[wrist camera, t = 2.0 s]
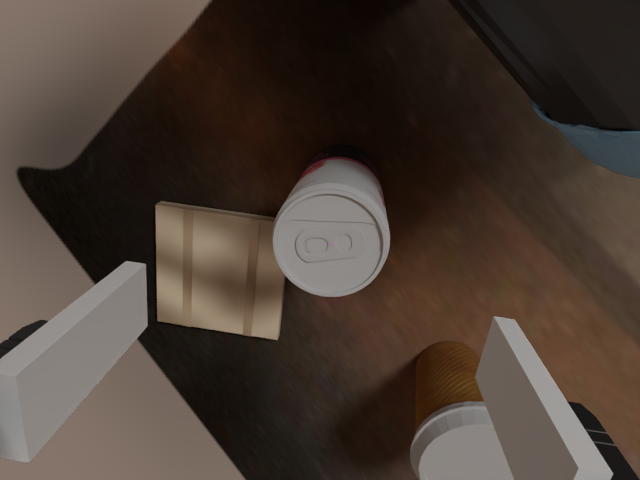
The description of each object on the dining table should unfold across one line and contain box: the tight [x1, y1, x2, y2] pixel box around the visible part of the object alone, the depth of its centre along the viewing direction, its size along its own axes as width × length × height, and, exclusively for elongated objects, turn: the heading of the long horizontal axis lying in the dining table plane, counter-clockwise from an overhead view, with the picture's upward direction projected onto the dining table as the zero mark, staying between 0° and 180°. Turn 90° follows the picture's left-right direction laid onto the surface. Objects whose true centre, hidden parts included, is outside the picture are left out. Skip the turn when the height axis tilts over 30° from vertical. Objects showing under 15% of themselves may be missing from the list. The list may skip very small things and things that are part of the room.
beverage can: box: [272, 145, 390, 297], centre depth 30 cm, size 6×7×15 cm
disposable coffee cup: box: [410, 341, 514, 480], centre depth 37 cm, size 10×10×12 cm
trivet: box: [156, 201, 286, 340], centre depth 41 cm, size 12×12×1 cm
